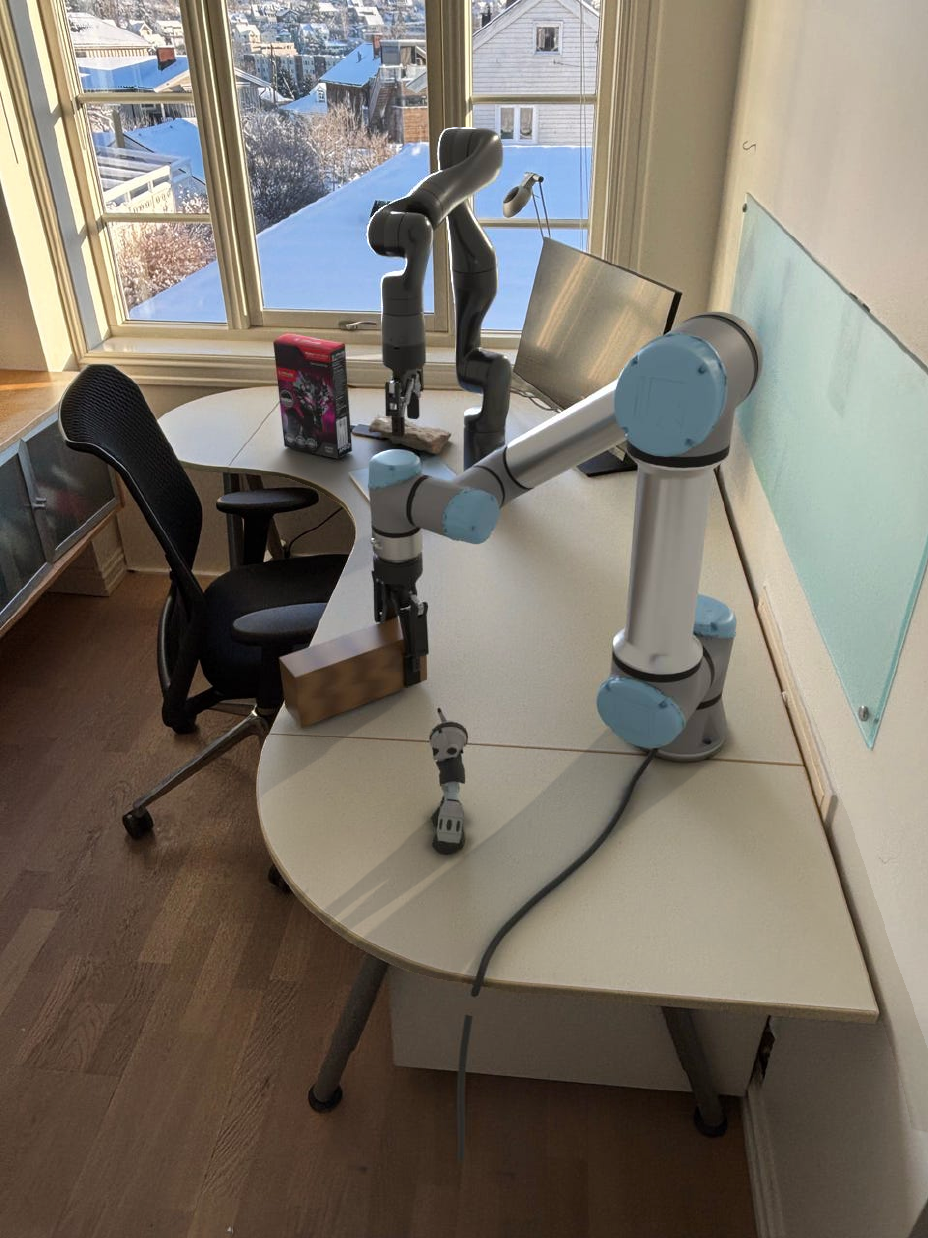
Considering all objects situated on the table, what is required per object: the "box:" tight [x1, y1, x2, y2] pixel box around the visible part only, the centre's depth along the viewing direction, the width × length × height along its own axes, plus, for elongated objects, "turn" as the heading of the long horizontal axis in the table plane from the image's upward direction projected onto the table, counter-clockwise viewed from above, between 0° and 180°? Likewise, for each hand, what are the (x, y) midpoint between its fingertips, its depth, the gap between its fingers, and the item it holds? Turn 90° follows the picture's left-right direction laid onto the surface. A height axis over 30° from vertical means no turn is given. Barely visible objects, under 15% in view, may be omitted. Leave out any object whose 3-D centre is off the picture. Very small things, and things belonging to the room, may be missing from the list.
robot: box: [428, 707, 469, 855], centre depth 120 cm, size 20×5×20 cm, turn 3°
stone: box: [368, 414, 452, 455], centre depth 233 cm, size 21×15×6 cm
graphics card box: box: [272, 332, 353, 460], centre depth 223 cm, size 17×7×27 cm, turn 62°
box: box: [278, 616, 428, 729], centre depth 146 cm, size 23×6×10 cm, turn 123°
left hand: (406, 426), depth 167 cm, fingers open, 8 cm apart
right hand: (402, 673), depth 152 cm, fingers closed on box, 6 cm apart
